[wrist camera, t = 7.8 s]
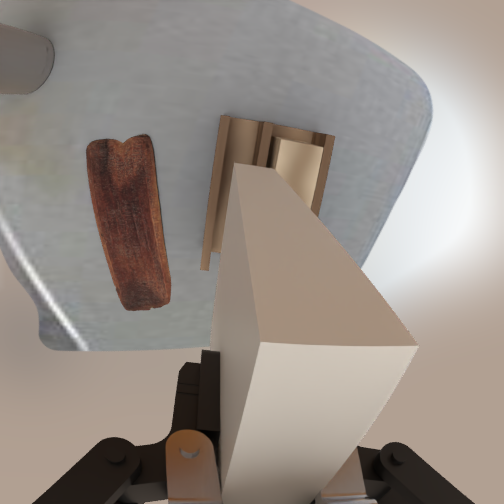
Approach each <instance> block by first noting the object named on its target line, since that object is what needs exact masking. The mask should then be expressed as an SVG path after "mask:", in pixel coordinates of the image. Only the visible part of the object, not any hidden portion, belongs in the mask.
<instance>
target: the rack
mask: <svg viewBox="0 0 504 504" xmlns="http://www.w3.org/2000/svg"><path fill="white" fill-rule="evenodd" d="M271 136H276V137H282V138H287V139H292V140H297V141H302V142H307V143H310V144H313V145H317V146H320V147H323V153H322V158H321V163H320V168H319V173H318V177H317V182H316V187H315V191H314V196H313V201H312V205H311V211H312V212H313V213H314V214H315V215H316V216H317V217H318V214H319V210H320V206H321V201H322V197H323V192H324V188H325V183H326V179H327V174H328V169H329V165H330V160H331V155H332V150H333V145H334V140H335V136H332V135H328V134H322V133H316V132H311V131H306V130H301V129H296V128H291V127H286V126H281V125H275V124H273V123H269V122H258V121H252V120H245V119H239V118H232V117H230V116H223V115H221V118H220V124H219V131H218V137H217V144H216V150H215V157H214V164H213V171H212V178H211V185H210V193H209V200H208V208H207V216H206V224H205V232H204V241H203V250H202V259H201V268H200V270H206V271H209V263H210V255H211V252H218V253H221V248H222V241H223V234H224V227H225V220H226V213H227V207H228V200H229V193H230V187H231V180H232V174H233V167H234V163H239V164H246V165H253V166H259V167H266V163H267V157H268V151H269V146H270V140H271Z"/></svg>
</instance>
